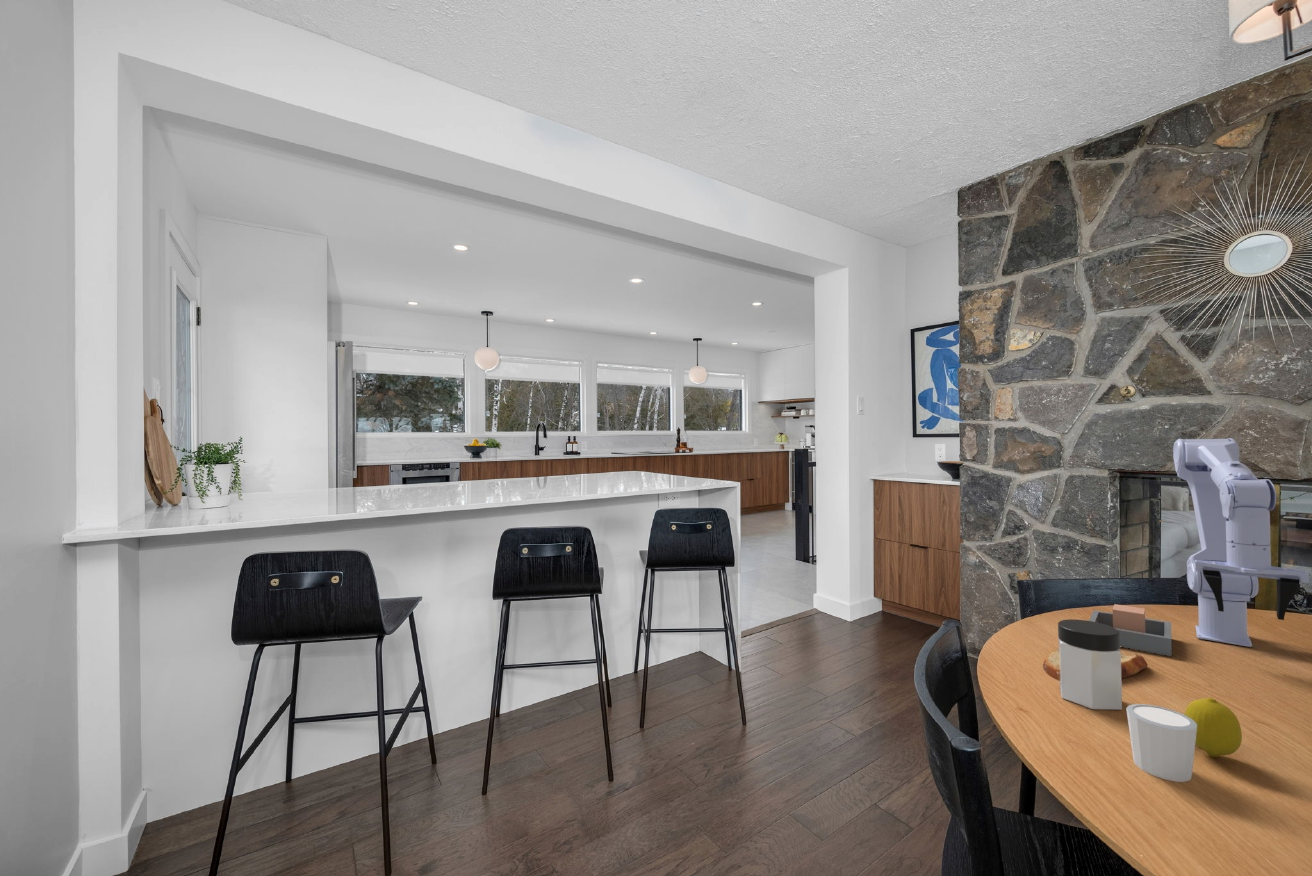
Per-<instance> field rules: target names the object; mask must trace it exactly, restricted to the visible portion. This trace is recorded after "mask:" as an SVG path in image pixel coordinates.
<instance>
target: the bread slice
mask: <svg viewBox="0 0 1312 876" xmlns="http://www.w3.org/2000/svg"><path fill="white" fill-rule="evenodd" d="M1147 667H1148V663H1147V661H1146V660H1145V658H1144V657H1143V656H1142V655H1141V654H1137V653H1134V655H1126V654H1124V653H1121V679H1126V678H1128V677H1133V676H1135V675H1136V674H1139V673H1140V672H1141V671H1142V670H1144V669H1147ZM1042 668H1043V671H1044V672H1045V674H1047V675H1048V676H1049V677H1051V678H1052V679H1054V680H1056V681H1059V682H1060V675H1059V647H1056V648H1054V649H1052V650H1051V653H1050V654H1047V656H1045V657H1044V661H1043V664H1042Z"/></svg>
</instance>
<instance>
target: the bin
mask: <svg viewBox="0 0 1312 876" xmlns="http://www.w3.org/2000/svg"><path fill="white" fill-rule="evenodd" d="M1088 621H1092V622H1097V623H1101V624H1105V625H1108V626H1111V627H1113V612H1106V611H1102V610H1093V611H1092V613H1091V615H1090V618H1089V620H1088ZM1115 629H1117V630H1118V631H1119V633H1120V646H1121V647H1120V648H1122V647H1124V648H1123V649H1128V648H1130V649H1129V650H1133V649H1136V650H1135V651H1138V650H1140V651H1139V652H1144V651H1147V652H1146V653H1149V654H1154V653H1156V655H1160V656H1165V655H1167V656H1166V657H1170V656H1172V653H1173V652H1171V651H1172V622H1171V621H1166V620H1165V621H1164V620H1160V619H1159V620H1158V619H1151V618H1146V617H1145V633H1141V632H1135V631H1129V630H1123V629H1118V628H1115Z"/></svg>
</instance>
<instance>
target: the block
mask: <svg viewBox="0 0 1312 876" xmlns="http://www.w3.org/2000/svg"><path fill="white" fill-rule="evenodd" d="M1112 613H1113V628H1118V629H1123V630H1129V631H1135V632H1141V633H1145V618H1146V608H1142V607H1137V606H1129V605H1123V604H1116V603H1114V605H1113V607H1112Z"/></svg>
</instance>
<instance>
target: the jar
mask: <svg viewBox="0 0 1312 876" xmlns="http://www.w3.org/2000/svg"><path fill="white" fill-rule="evenodd" d="M1057 636H1058V637H1057V638H1058V648H1059V675H1060V681H1059V691H1060V696H1061V698H1062V699H1063V700H1066V701H1068V702H1072V703H1075V704H1077V705H1080V706H1083V707H1085V708H1087V709H1090V710H1107V711H1109V710H1111V711H1113V710H1114V711H1116V710H1117V711H1118V710H1119V711H1120V710H1123V694H1122V693H1123V691H1122V690H1123V689H1122V686H1123V684H1122V678H1121V654H1122V653H1121V650H1120V649H1121V647H1120V633H1119V631H1118V630H1117V629H1115V628H1113V627H1111V626H1108V625H1105V624H1101V623H1097V622H1092V621H1089V620H1085V619H1084V620H1083V619H1071V618H1070V619H1062V620H1060V621H1058V623H1057Z"/></svg>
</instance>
